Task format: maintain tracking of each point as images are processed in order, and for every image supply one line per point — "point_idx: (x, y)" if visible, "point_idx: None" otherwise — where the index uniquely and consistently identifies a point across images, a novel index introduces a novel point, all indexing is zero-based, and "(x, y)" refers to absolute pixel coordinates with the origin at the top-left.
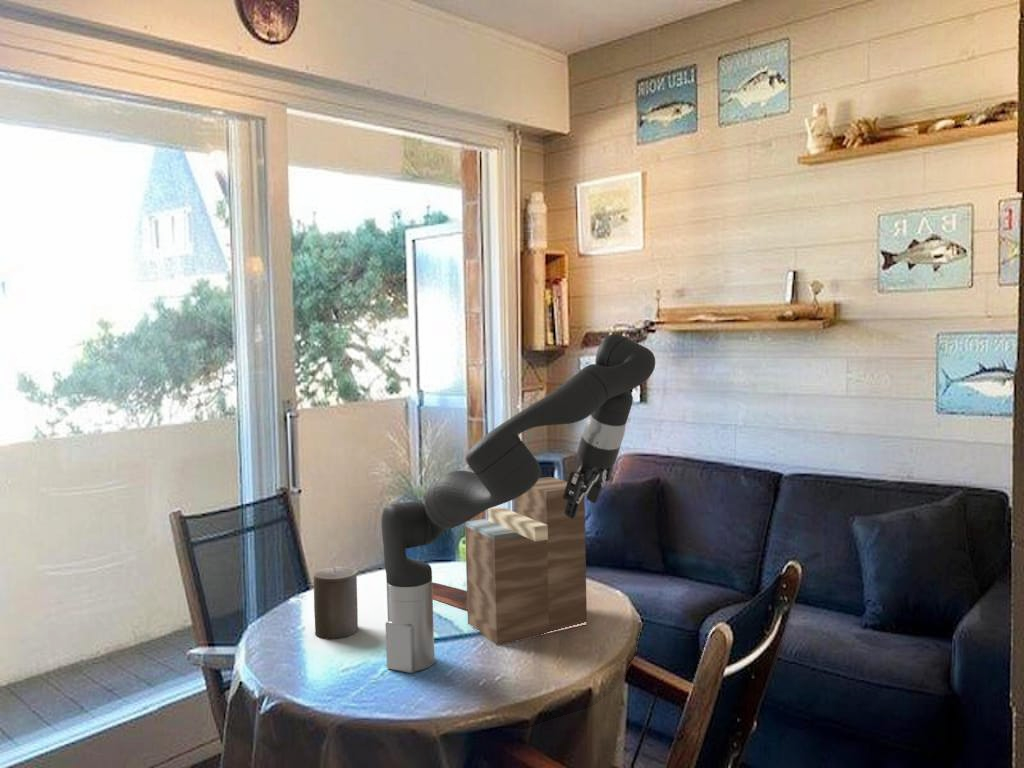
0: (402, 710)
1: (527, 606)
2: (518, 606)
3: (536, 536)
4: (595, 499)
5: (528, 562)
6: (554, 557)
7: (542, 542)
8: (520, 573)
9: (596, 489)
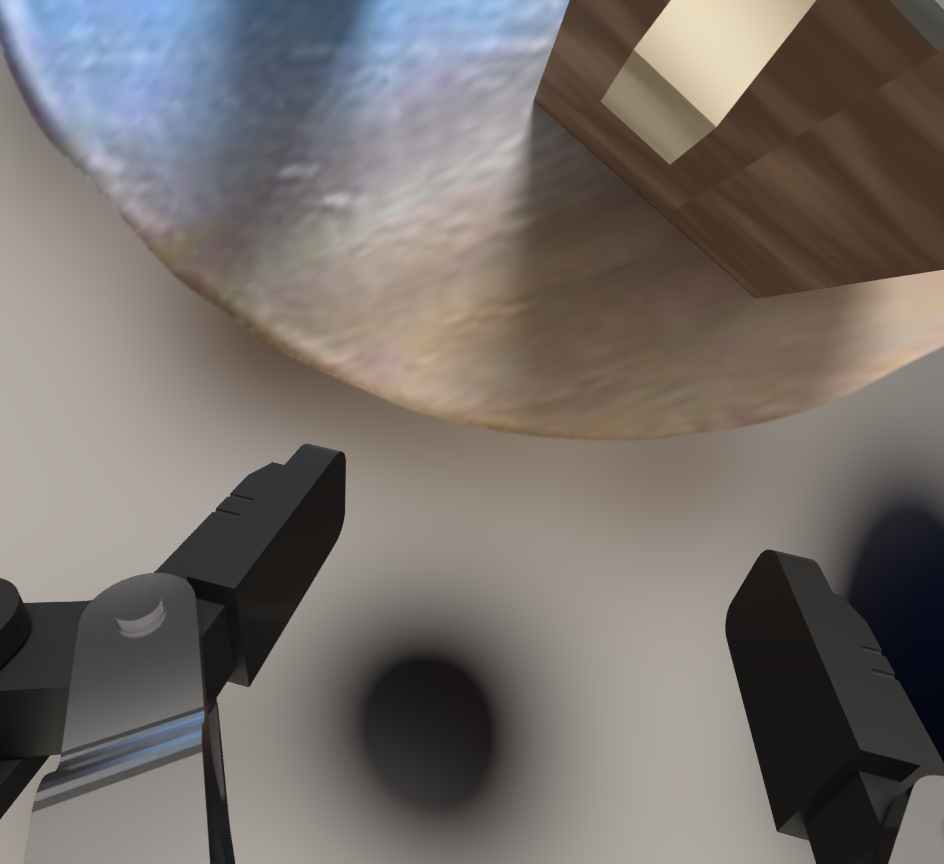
0: (60, 43)
1: None
2: None
3: (618, 93)
4: (739, 650)
5: None
6: (843, 151)
7: (864, 62)
8: None
9: (788, 761)
